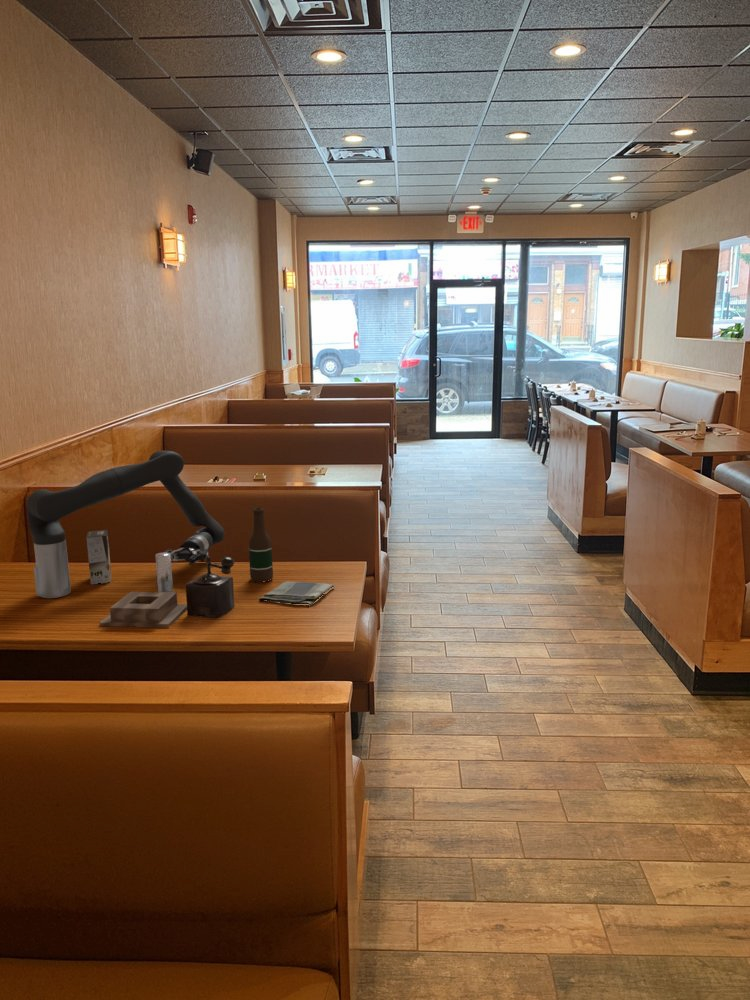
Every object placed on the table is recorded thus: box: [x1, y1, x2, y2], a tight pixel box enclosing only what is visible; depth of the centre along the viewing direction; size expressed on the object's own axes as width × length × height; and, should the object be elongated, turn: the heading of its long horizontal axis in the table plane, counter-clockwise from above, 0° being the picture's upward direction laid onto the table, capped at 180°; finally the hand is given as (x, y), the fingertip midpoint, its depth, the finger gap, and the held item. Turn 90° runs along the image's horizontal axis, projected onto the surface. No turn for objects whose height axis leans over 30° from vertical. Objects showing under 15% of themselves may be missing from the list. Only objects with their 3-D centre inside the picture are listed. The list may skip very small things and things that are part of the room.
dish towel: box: [258, 580, 335, 606], centre depth 234 cm, size 19×18×3 cm
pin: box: [155, 551, 174, 592], centre depth 232 cm, size 4×4×14 cm
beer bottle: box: [248, 507, 274, 583], centre depth 248 cm, size 8×8×24 cm
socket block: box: [99, 591, 187, 628], centre depth 218 cm, size 20×16×5 cm
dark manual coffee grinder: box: [185, 555, 235, 618], centre depth 219 cm, size 16×11×18 cm
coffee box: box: [85, 529, 112, 585], centre depth 252 cm, size 9×6×16 cm
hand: (177, 561), depth 243 cm, fingers open, 8 cm apart
